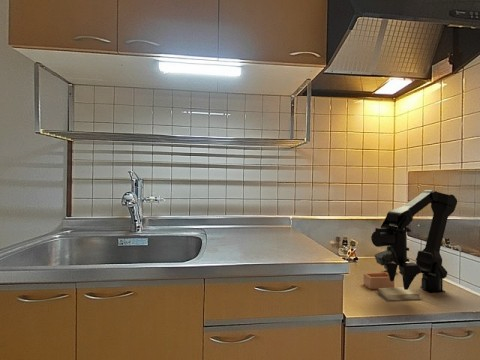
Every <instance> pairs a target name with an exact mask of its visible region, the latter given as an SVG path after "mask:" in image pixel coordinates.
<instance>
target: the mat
mask: <svg viewBox="0 0 480 360" xmlns="http://www.w3.org/2000/svg"><path fill="white" fill-rule="evenodd" d="M374 293H375V294H376V295H378V296H379V297H380V298H381V299H383V300H384V301H385V302H386V303H387V302H388V303H391V302H409V301H410V302H411V301H412V302H413V301H424V299H423V298H422V297H420V299H409V300H387V299H386V298H384V297H383V296H381V295H380V294H379V291H378V292H374Z"/></svg>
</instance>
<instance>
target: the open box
mask: <svg viewBox="0 0 480 360" xmlns="http://www.w3.org/2000/svg"><path fill="white" fill-rule="evenodd" d="M363 285H364V286H366V287H367V288H368V289H369V290H379V288H395V280H394V281H390V278H389V275H388V273H387V272H385V273H384V272H364V273H363Z"/></svg>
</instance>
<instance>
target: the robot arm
mask: <svg viewBox="0 0 480 360" xmlns="http://www.w3.org/2000/svg"><path fill="white" fill-rule="evenodd" d="M429 204H430V208H431V210H432V213H433V214H432V219H431V224H430V226H429V227H430V228H429V231H428V235H427V239H426V242H425V243H426V244H425V247H424V248H423V249H422V250H418V251H417V255H416V257H415V262H410V258H409V257H408V252H409V251H410V247H408V246H407V245H408V244H407V241H408V240H407V238H408V237H407V234H408V233H411V231H412V230H411V229H410V228H409V227H408V226H409V225H410V224H411V223H412V221H413V220H414V216H415V215H417V214H418V213H419V212H420V211H422V210H423V209H424V208H426V207H427V206H429ZM457 205H458V199H457V198H456V196H455V195H454V194H450V193H449V194H448V193H443V192H439V191H436V190H434V189H433V190H431V189H428V190H427V189H425V190H422V191H421V193H420V194H418V195H417V196H416V197H414V198H413V199H412V200H410V201H409V202H407V203H406V204H404V205H403V206H400V207H395V208H393V209H392V210H388V212H387V214H386V216H385V218H384V220H383V222H382V224H381V226H380V227H375V228H374V229H375V231H373V233H372V234H371V236H370V238H371V239H370V240H371V242H372V244H373V246H375V247H377V248H379V247H380V248H381V247H386V250H383V251H382V250H381V251H380V252H377V253H376V254H374V258H375V262H376V263H377V264H379V265H380V266H383V267H384V266H385V267H386V269H387V272H388V275H389V278H390V281H394V282H395V278H396V274H397V269H399V271H398V273H399V274H400V275H401V277H402V285H403V286H402V287H404V289H405V290H408V288H410V287H411V284H412V282H413V281H414V279H415V278H416V276H418V275H419V274H422V277H421V286H419V288H421V289H422V290H424V291H425V292H427V293H430V294H436V293H437V294H439V293H441V294H442V293H446V290H444V288H443V283H444V282H443V280H444V279H445V278H447V277H448V271H447V269H446V268H444V266H443V258H442V255H441V253H440V251H441V247H442V242H443V238H444V234H445V231H446V227H447V222H448V218H449V217H451V215H452V214H453V213H454V212H455V210H456V207H457ZM386 269H385V270H386Z"/></svg>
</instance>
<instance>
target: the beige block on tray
mask: <svg viewBox="0 0 480 360" xmlns="http://www.w3.org/2000/svg"><path fill="white" fill-rule="evenodd" d="M378 292H379V294H380V295H381V296H383V297H384V298H386V299H387V300H409V299H420V298H421V297H420V292H418V291H416V290H414V289H412V288H411V287H409V288H408V290H405V289H404V286H401V287H399V286H398V287H394V288H379V289H378Z"/></svg>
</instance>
